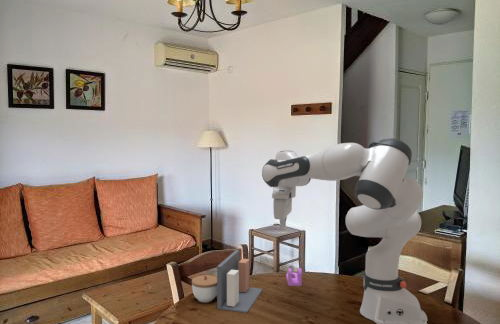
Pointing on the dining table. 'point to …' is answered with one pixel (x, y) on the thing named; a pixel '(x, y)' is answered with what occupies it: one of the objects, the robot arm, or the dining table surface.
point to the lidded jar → (204, 287)
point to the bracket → (294, 281)
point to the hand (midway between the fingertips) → (282, 227)
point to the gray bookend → (222, 269)
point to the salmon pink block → (243, 275)
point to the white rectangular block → (232, 287)
